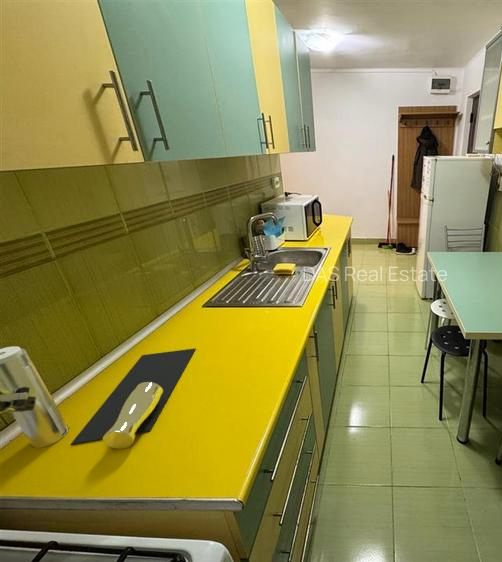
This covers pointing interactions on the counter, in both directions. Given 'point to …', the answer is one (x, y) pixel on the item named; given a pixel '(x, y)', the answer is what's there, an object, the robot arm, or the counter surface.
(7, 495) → the counter surface
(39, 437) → the silver metal cylinder
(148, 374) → the mat
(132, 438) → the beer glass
